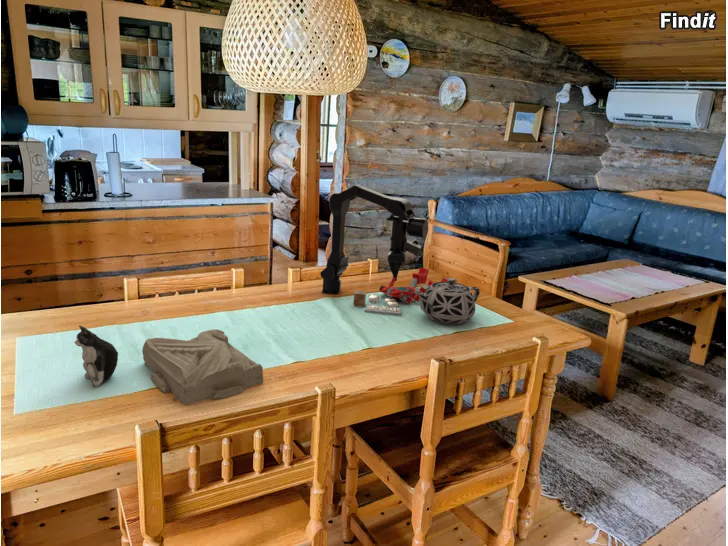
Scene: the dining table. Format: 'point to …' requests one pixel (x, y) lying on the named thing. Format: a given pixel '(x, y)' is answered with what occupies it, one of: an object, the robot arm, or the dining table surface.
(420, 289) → the toy robot
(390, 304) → the tealight
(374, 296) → the tealight
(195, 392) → the sculpture
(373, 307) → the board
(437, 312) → the teapot
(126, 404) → the dining table surface
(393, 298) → the tealight
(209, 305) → the dining table surface
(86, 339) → the figurine
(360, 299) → the block
